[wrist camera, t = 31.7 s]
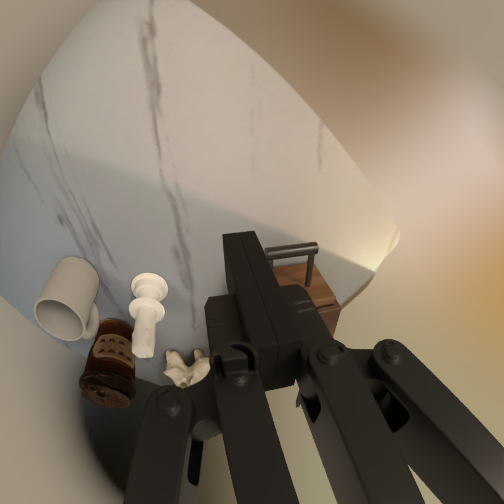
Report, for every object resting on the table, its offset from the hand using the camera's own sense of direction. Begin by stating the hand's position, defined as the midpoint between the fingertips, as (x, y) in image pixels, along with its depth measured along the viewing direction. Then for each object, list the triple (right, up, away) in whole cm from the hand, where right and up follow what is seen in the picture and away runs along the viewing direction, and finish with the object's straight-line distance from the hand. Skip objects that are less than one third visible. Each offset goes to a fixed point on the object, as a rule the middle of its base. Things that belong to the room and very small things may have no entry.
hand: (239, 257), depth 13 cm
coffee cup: (-21, -12, +26) cm, 36 cm away
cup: (-24, -4, +20) cm, 31 cm away
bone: (-10, -19, +33) cm, 40 cm away
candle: (-14, -5, +23) cm, 27 cm away
